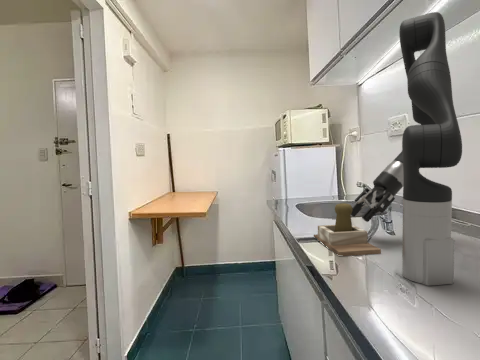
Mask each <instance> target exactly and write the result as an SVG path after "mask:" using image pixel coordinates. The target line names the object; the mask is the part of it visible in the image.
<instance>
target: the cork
mask: <svg viewBox="0 0 480 360" xmlns="http://www.w3.org/2000/svg"><path fill="white" fill-rule="evenodd" d="M352 208H353V207H352V205H351V204H350V203H345V202H343V203H337V204H335V206H334V212H335V214H336V217H335V224H334V225H335V231H334V232H345V231H353V229H352V225H353V223H352V215H351V213H352Z"/></svg>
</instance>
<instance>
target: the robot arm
mask: <svg viewBox="0 0 480 360" xmlns="http://www.w3.org/2000/svg"><path fill="white" fill-rule="evenodd" d="M446 42H447V41H446V23H445V19H444V16H443V14H441V13H440V12H438V11H435V12H434V11H433V12H429V13H425V14H422V15H418V16H414V17H410V18H407V19H404V20H402V21H401V23H400V25H399V43H400V50H401V55H402V59H403V60H402V61H403V66H404V70H405V74H406V79H407V82H406V83H407V94H408V98H409V100H411V110H412V112H411V113H412V118H413V120H414V122H415V123H417V124H415V125H409V126H407V127H406V128H405V129H404V131H403V133H402V140H401V152H400V153H399V154H397V156H396V157H395V158H394V159H393V160H392V161H391V162H390V163H388V164H387V166H386V167H385V168H384V169H382V171H381V173H379V175H377V177H376V178H375V179H374V180H373V181H372V184H373V187H372V189H369V188H368V187H366V188H364V189H363V191H362V192H361V193H360V194H359V195H358V196H357V197H356V198H355V199H354V202H355V205H353V207H352V213H351V217H354V218H355V217H356V215H358V214H359V213H360V212H361V210H362V209H363V208H364V207H368V206H370V207H369V209H368V210H366V212H365V213H364V214H362V217H361V219H362V220H364V221H365V222H366V223H369V222H370V220H372V218H374V216H375V215H376V214H379V213H382V214H383V213H384V212H385V211H386V210H387V209H388V207H389V206H390V205H391V204H392V203H393V202H394V201H395V199H396V197H395V196H396V195H397V194H398V193H399V191H400V190H402V234H401V236H402V237H401V238H402V240H401V241H402V243H401V245H402V247H401V248H402V251H401V253H402V256H401V258H402V259H401V260H402V261H401V263H402V264H401V275H402V276H403V277H404V278H406V279H407V280H409V281H412V282H415V283H419V284H423V285H425V286H440V285H451V284H453V285H454V283H455V282H454V279H455V278H454V277H455V239H454V238H453V237H452V213H453V211H452V210H453V209H452V208H453V191H452V188H451V187H450V186H448V185H445V184H443V183H439V182H436V181H434V180H431V179H429V178H427V177H425V176H423V175H422V174H421V172H420V169H444V168H451V167H455V166H457V165H458V164H459V163H460V161H461V159H462V155H463V141H462V140H463V139H462V135H461V130H460V126H459V121H458V118H457V114H456V111H455V107H454V100H453V88H452V85H453V84H452V77H451V71H450V65H449V61H448V55H447V47H446V45H447V43H446ZM422 51H423V52H422ZM416 52H422V53H421V54H420V55H419V56H418V57H417V58H416V57H415V53H416Z"/></svg>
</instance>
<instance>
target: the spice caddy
mask: <svg viewBox="0 0 480 360" xmlns="http://www.w3.org/2000/svg"><path fill="white" fill-rule="evenodd" d="M352 229H353V231H345V232H334V231H335V224H324V225H317V234H313V238H314V237H315V238H317V239H318V240H319V241H321V242H322V243H323V244H324V245H325V246H327V247H328V248H329V249H330V250H329V249H328V248H327V247H326V248H327V249H328V250H329V251H331V250H332V251H333V252H332V251H331V252H332V253H333V254H335V253H336V254H338V255H343V256H342V257H350V256H351V257H352V256H364V255H365V256H366V255H367V256H368V255H379V254H382V249H381V248H379V247H378V246H375V245H374V244H371V243H369V242H368V231H367V230H365V229H363V228H360V227H359V226H356V225H354V224H352ZM324 245H323V246H324ZM325 246H324V247H325ZM336 254H335V255H336ZM338 255H337V256H338Z"/></svg>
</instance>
